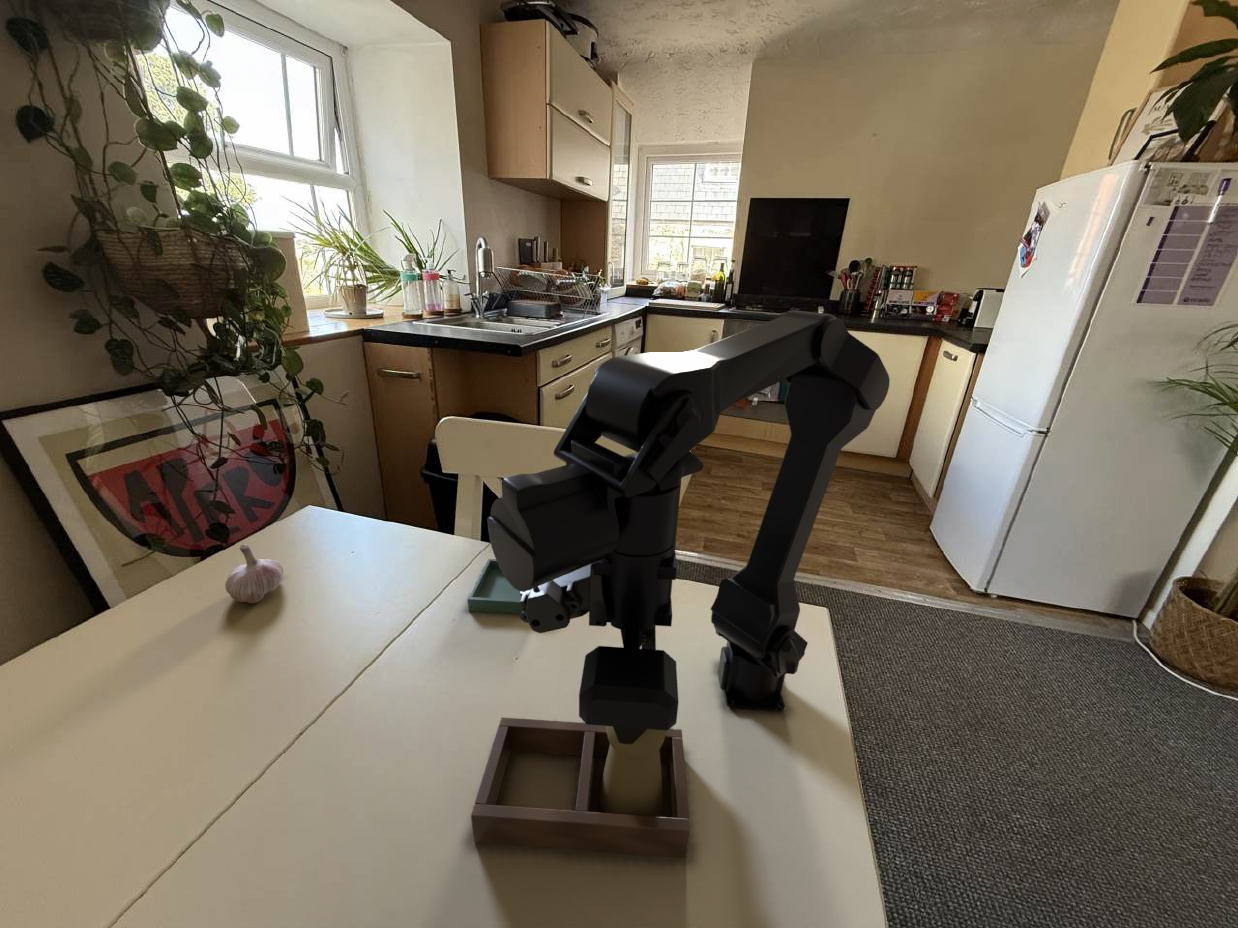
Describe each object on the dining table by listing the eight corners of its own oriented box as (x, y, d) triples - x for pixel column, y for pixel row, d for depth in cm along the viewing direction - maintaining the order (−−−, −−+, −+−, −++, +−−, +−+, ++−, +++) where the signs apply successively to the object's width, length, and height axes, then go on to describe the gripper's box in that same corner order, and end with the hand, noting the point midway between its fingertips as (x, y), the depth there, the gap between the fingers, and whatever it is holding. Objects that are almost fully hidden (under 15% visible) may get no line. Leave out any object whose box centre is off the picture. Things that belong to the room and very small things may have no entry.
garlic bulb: (253, 613, 67) (238, 563, 64) (213, 601, 69) (196, 552, 66) (301, 581, 74) (289, 534, 71) (263, 571, 76) (250, 526, 72)
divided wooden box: (678, 753, 50) (681, 728, 49) (686, 857, 41) (690, 831, 40) (503, 741, 51) (501, 716, 49) (473, 842, 42) (470, 815, 41)
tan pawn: (659, 839, 43) (668, 750, 38) (591, 822, 44) (593, 733, 40) (667, 773, 48) (676, 689, 44) (606, 760, 49) (610, 676, 45)
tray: (551, 572, 78) (551, 562, 77) (539, 615, 69) (539, 603, 68) (489, 569, 78) (488, 558, 78) (468, 610, 69) (467, 599, 68)
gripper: (551, 476, 45) (554, 614, 51) (490, 612, 28) (505, 795, 34) (673, 483, 45) (662, 621, 51) (688, 625, 27) (668, 808, 33)
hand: (628, 693), depth 42 cm, fingers open, 9 cm apart
